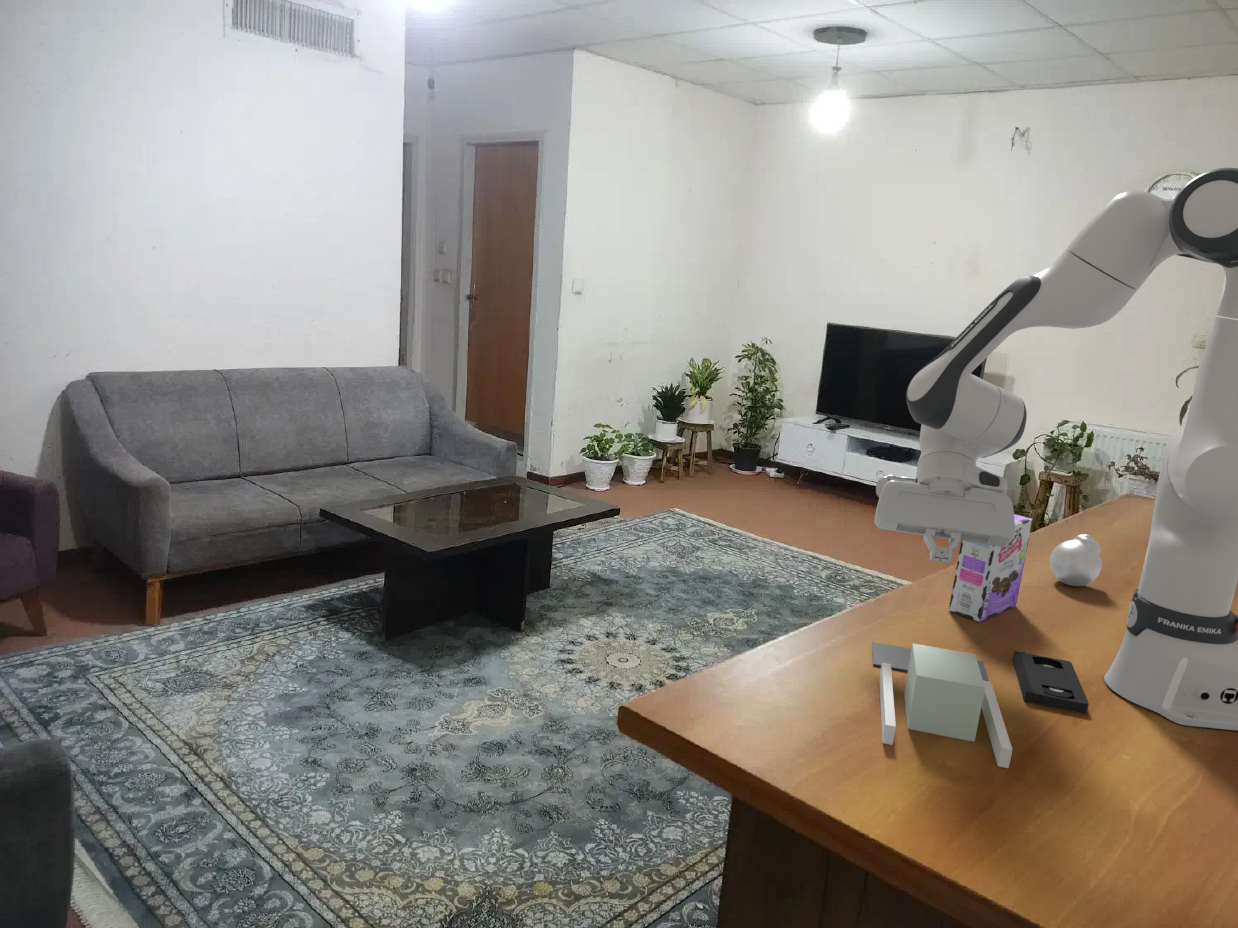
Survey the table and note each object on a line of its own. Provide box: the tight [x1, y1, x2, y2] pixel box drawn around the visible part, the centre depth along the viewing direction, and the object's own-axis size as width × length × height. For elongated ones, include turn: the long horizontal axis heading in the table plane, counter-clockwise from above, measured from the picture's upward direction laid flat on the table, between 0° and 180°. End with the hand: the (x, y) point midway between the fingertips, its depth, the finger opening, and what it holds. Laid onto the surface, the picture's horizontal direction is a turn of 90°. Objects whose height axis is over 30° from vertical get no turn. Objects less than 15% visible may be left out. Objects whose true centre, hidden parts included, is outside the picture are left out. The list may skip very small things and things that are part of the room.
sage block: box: [903, 642, 985, 742], centre depth 115 cm, size 8×10×8 cm
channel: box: [871, 641, 1013, 769], centre depth 120 cm, size 16×30×2 cm, turn 165°
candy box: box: [948, 513, 1033, 622], centre depth 153 cm, size 14×6×16 cm, turn 131°
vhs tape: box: [1012, 650, 1090, 715], centre depth 127 cm, size 14×8×2 cm, turn 163°
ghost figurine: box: [1049, 533, 1103, 587], centre depth 170 cm, size 9×10×10 cm
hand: (940, 560), depth 134 cm, fingers closed
